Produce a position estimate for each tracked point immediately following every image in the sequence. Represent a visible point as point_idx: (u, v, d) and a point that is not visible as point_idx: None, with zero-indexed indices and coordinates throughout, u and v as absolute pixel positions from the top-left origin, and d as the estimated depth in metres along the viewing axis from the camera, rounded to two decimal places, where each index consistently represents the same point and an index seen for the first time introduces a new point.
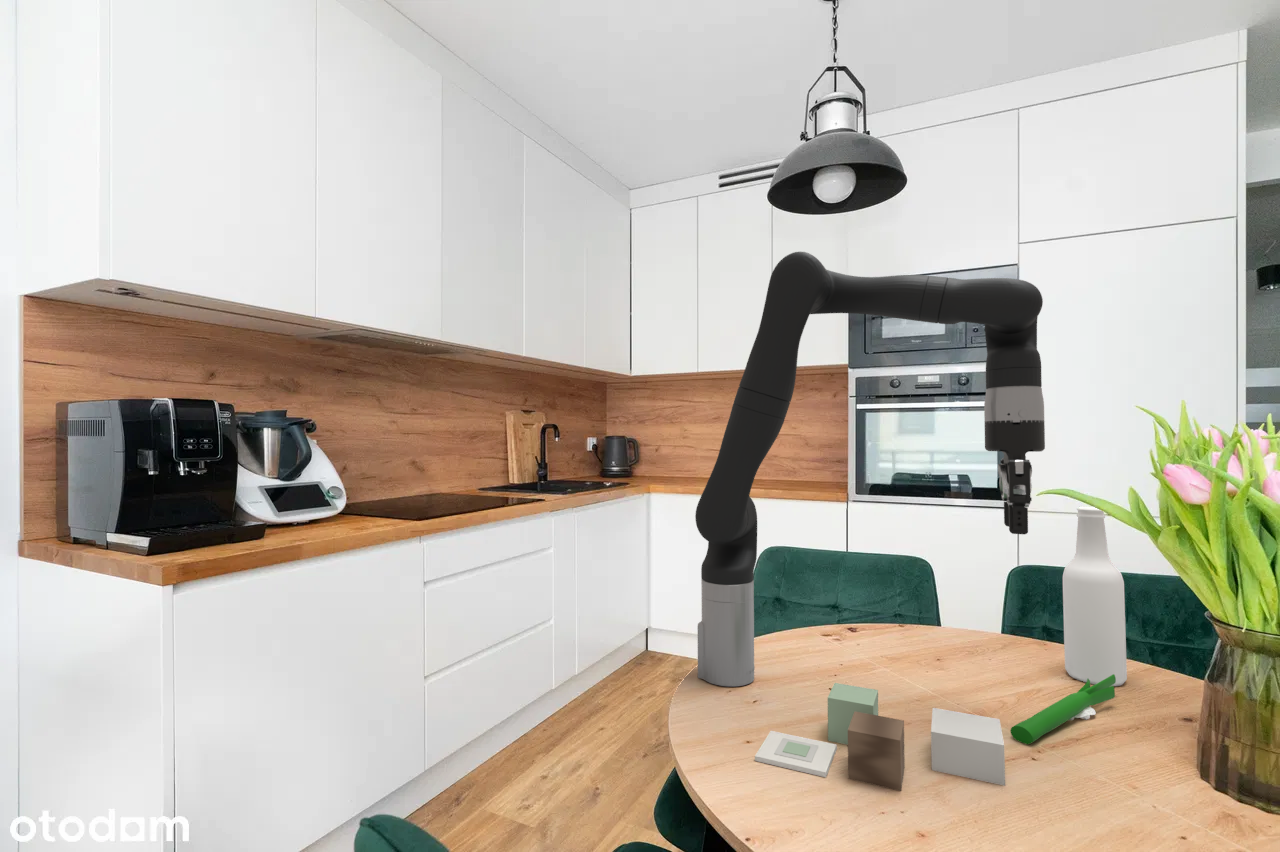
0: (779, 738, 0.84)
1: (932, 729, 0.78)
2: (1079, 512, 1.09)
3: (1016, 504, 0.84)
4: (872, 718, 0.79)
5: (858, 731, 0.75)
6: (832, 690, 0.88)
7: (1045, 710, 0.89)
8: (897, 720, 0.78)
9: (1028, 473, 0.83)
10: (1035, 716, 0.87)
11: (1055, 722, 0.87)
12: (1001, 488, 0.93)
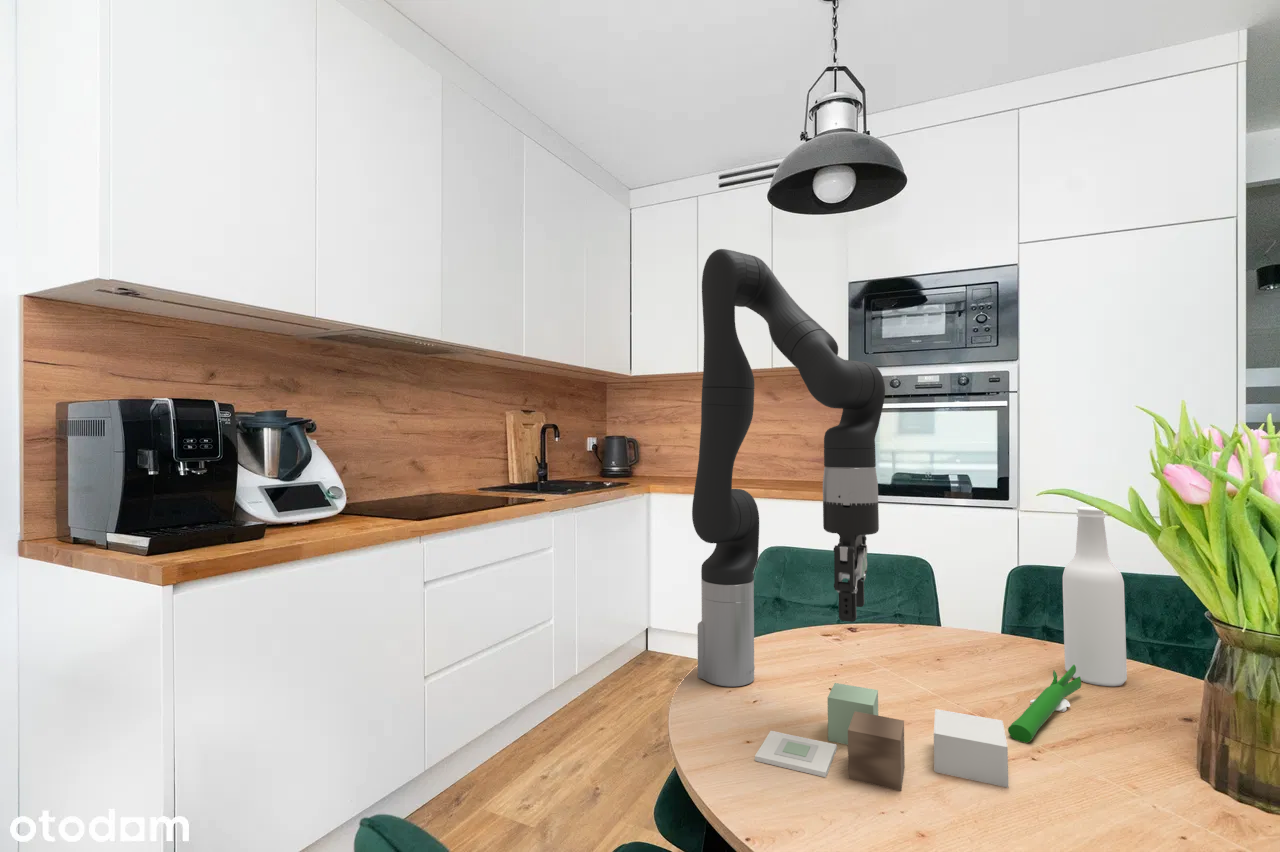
0: (779, 738, 0.84)
1: (935, 731, 0.78)
2: (1079, 512, 1.09)
3: (843, 591, 0.82)
4: (872, 718, 0.79)
5: (858, 731, 0.75)
6: (832, 690, 0.88)
7: (1033, 706, 0.90)
8: (897, 720, 0.78)
9: (851, 561, 0.81)
10: (1027, 713, 0.88)
11: (1044, 718, 0.88)
12: None
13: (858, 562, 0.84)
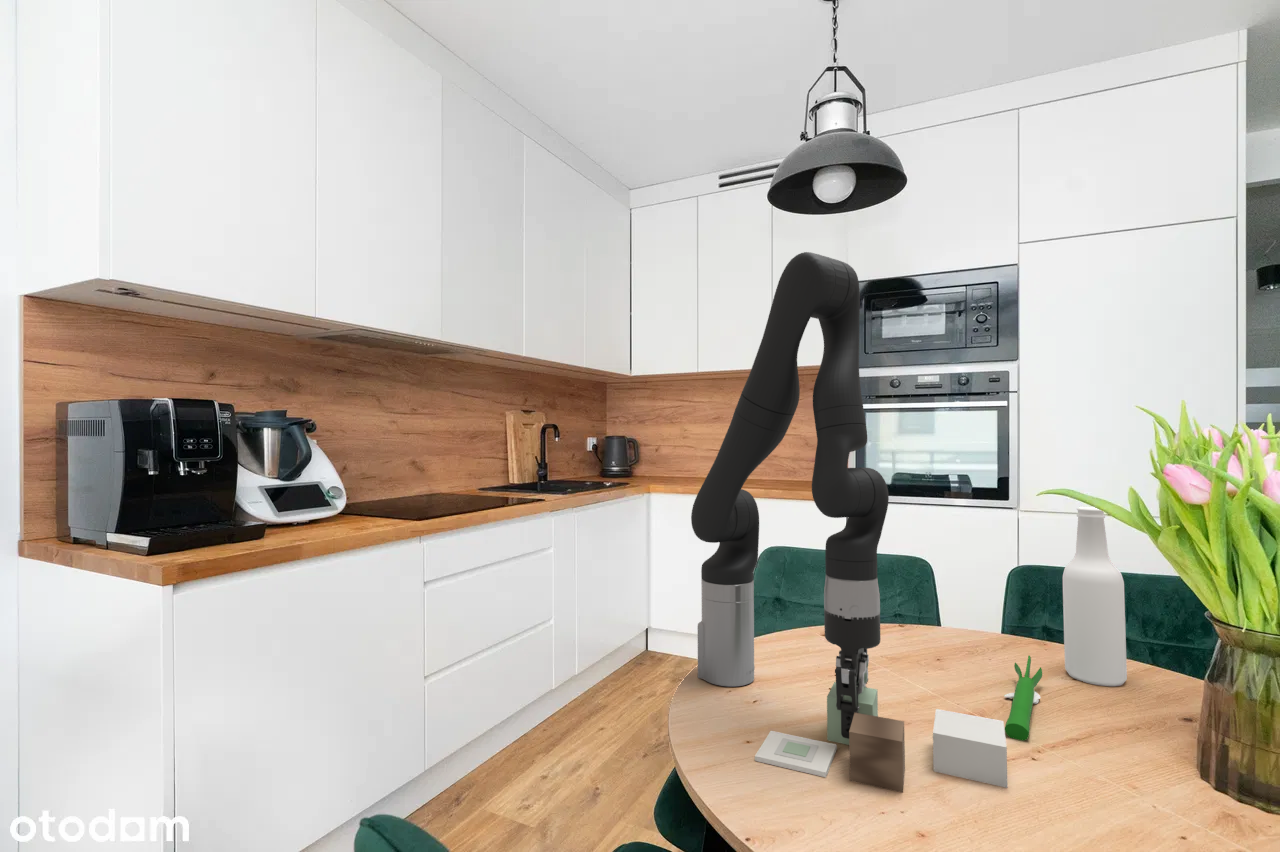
0: (779, 738, 0.84)
1: (934, 730, 0.78)
2: (1079, 512, 1.09)
3: (845, 710, 0.82)
4: (873, 719, 0.78)
5: (859, 733, 0.75)
6: (831, 690, 0.88)
7: (1018, 702, 0.91)
8: (897, 721, 0.78)
9: (853, 685, 0.80)
10: (1016, 710, 0.89)
11: (1030, 713, 0.90)
12: None
13: (860, 678, 0.84)
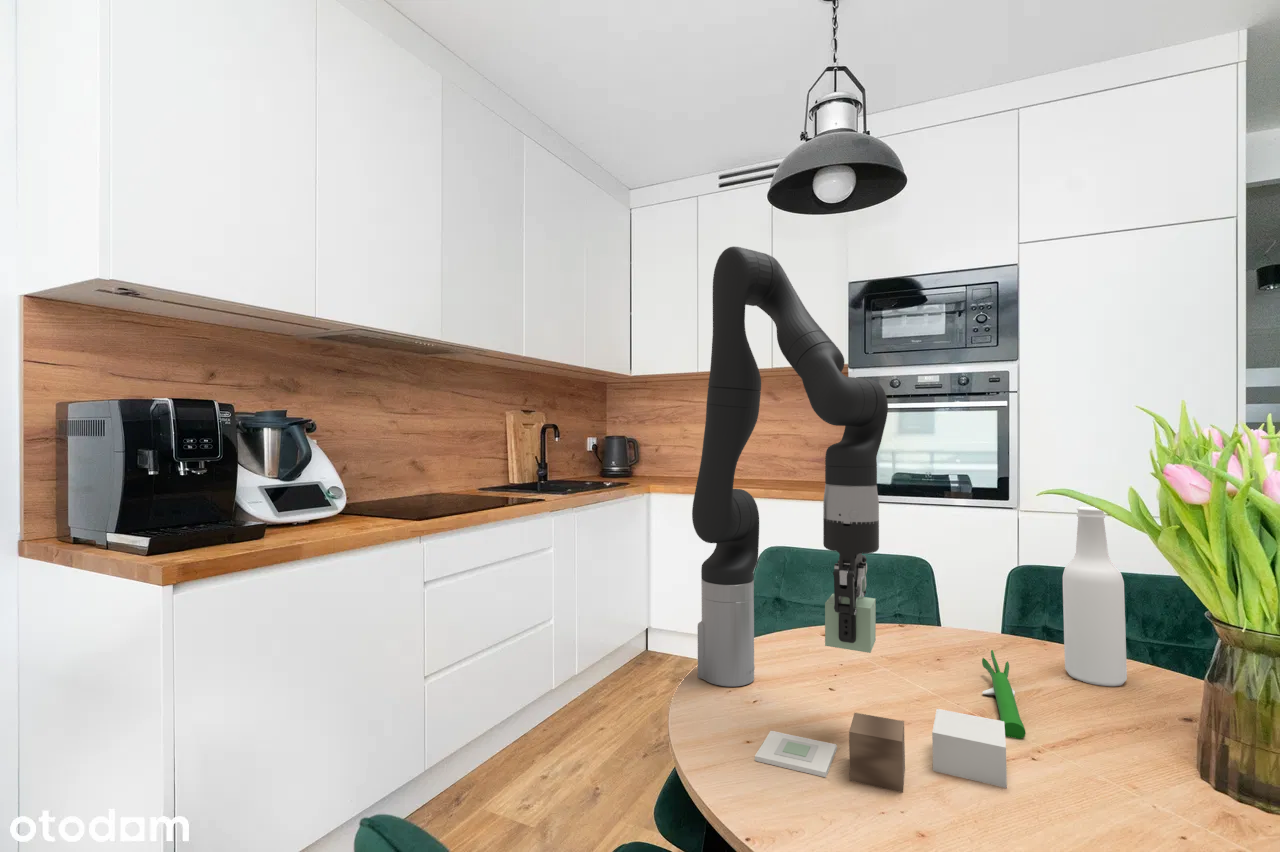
0: (779, 738, 0.84)
1: (934, 730, 0.78)
2: (1079, 512, 1.09)
3: (843, 613, 0.83)
4: (872, 719, 0.78)
5: (859, 733, 0.75)
6: (829, 598, 0.88)
7: (1005, 699, 0.92)
8: (897, 721, 0.78)
9: (851, 586, 0.81)
10: (1007, 708, 0.90)
11: (1017, 709, 0.91)
12: None
13: (858, 583, 0.84)
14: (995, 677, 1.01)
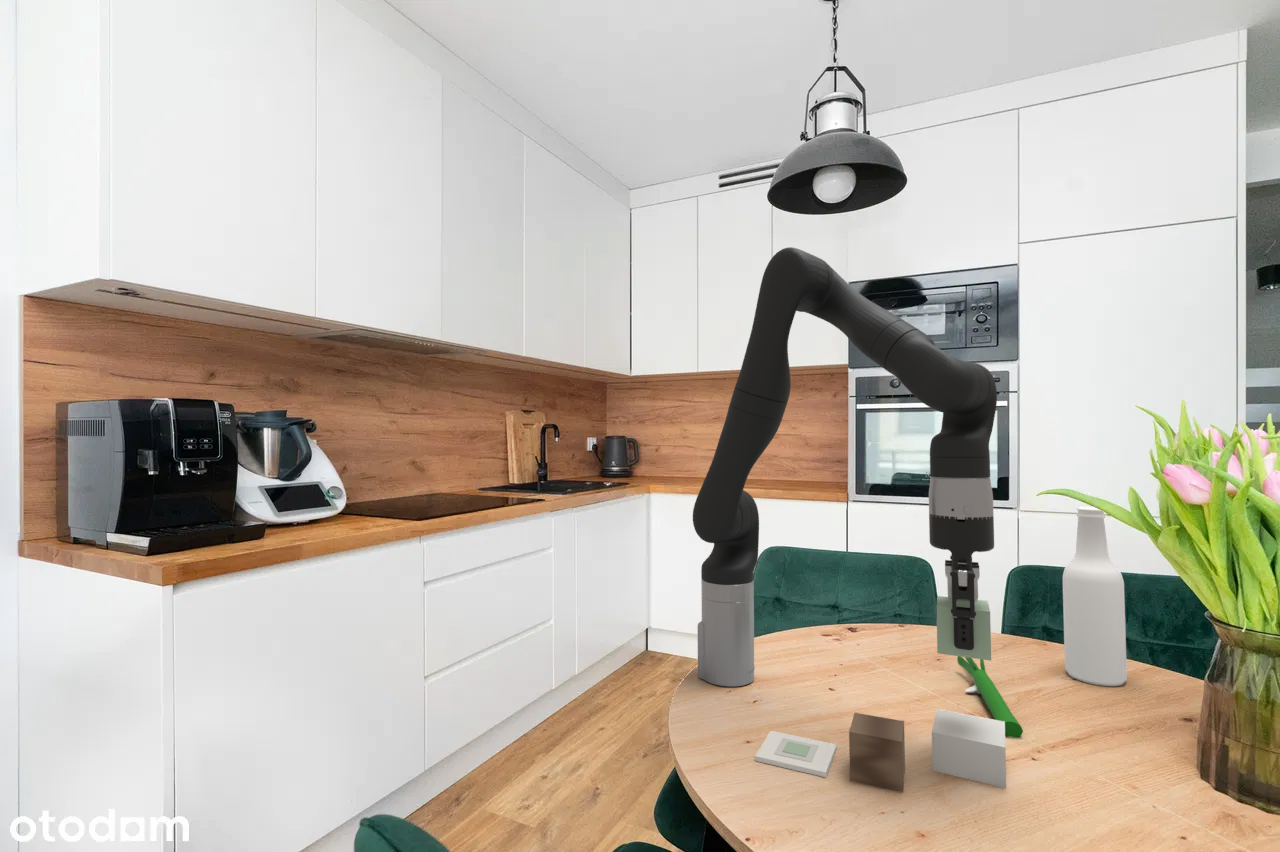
0: (779, 738, 0.84)
1: (933, 729, 0.78)
2: (1079, 512, 1.09)
3: (960, 617, 0.76)
4: (873, 719, 0.78)
5: (859, 733, 0.75)
6: (938, 601, 0.81)
7: (995, 697, 0.93)
8: (897, 721, 0.78)
9: (972, 587, 0.74)
10: (999, 706, 0.90)
11: None
12: None
13: (974, 584, 0.77)
14: (977, 675, 1.02)
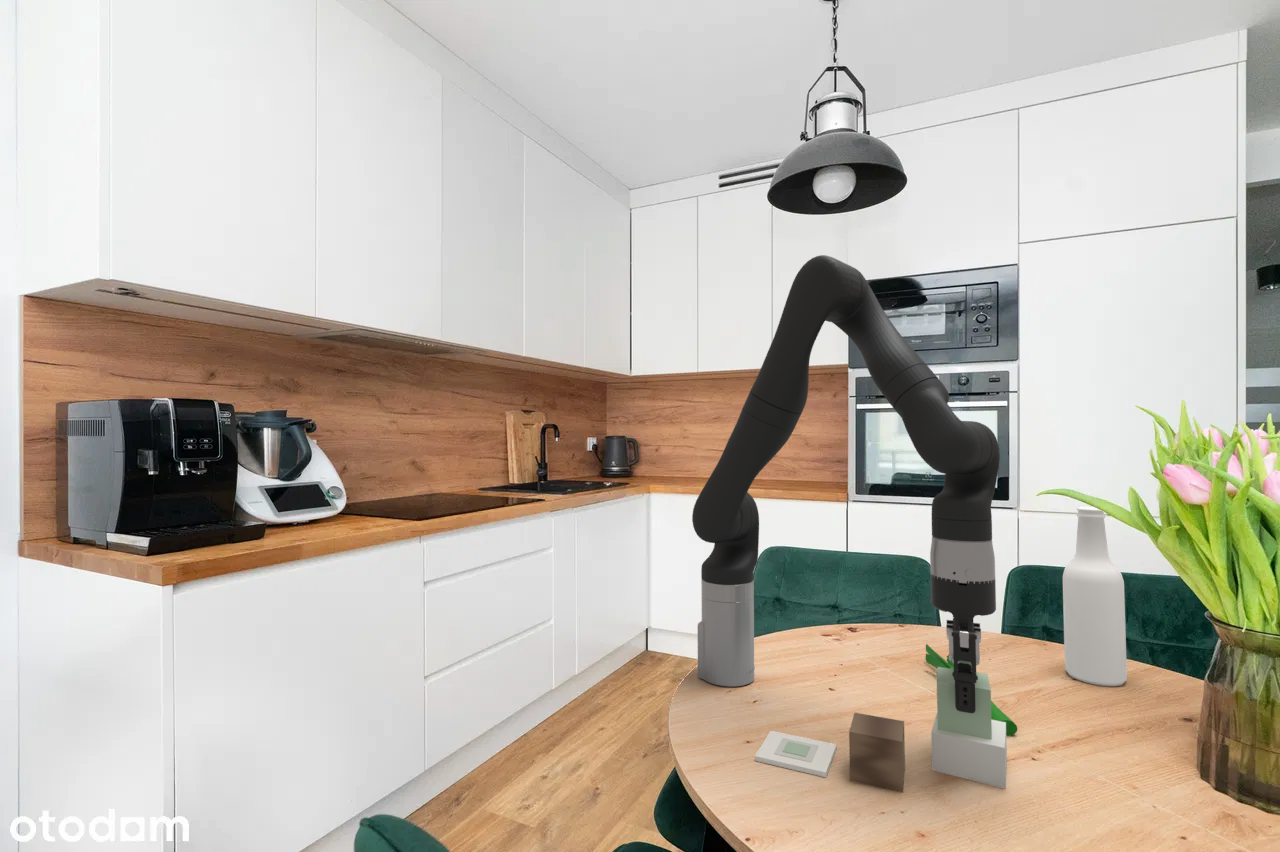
0: (779, 738, 0.84)
1: (933, 730, 0.78)
2: (1079, 512, 1.09)
3: (962, 681, 0.74)
4: (873, 719, 0.78)
5: (859, 733, 0.75)
6: (938, 675, 0.81)
7: None
8: (897, 721, 0.78)
9: (974, 649, 0.73)
10: None
11: None
12: None
13: (976, 646, 0.76)
14: None
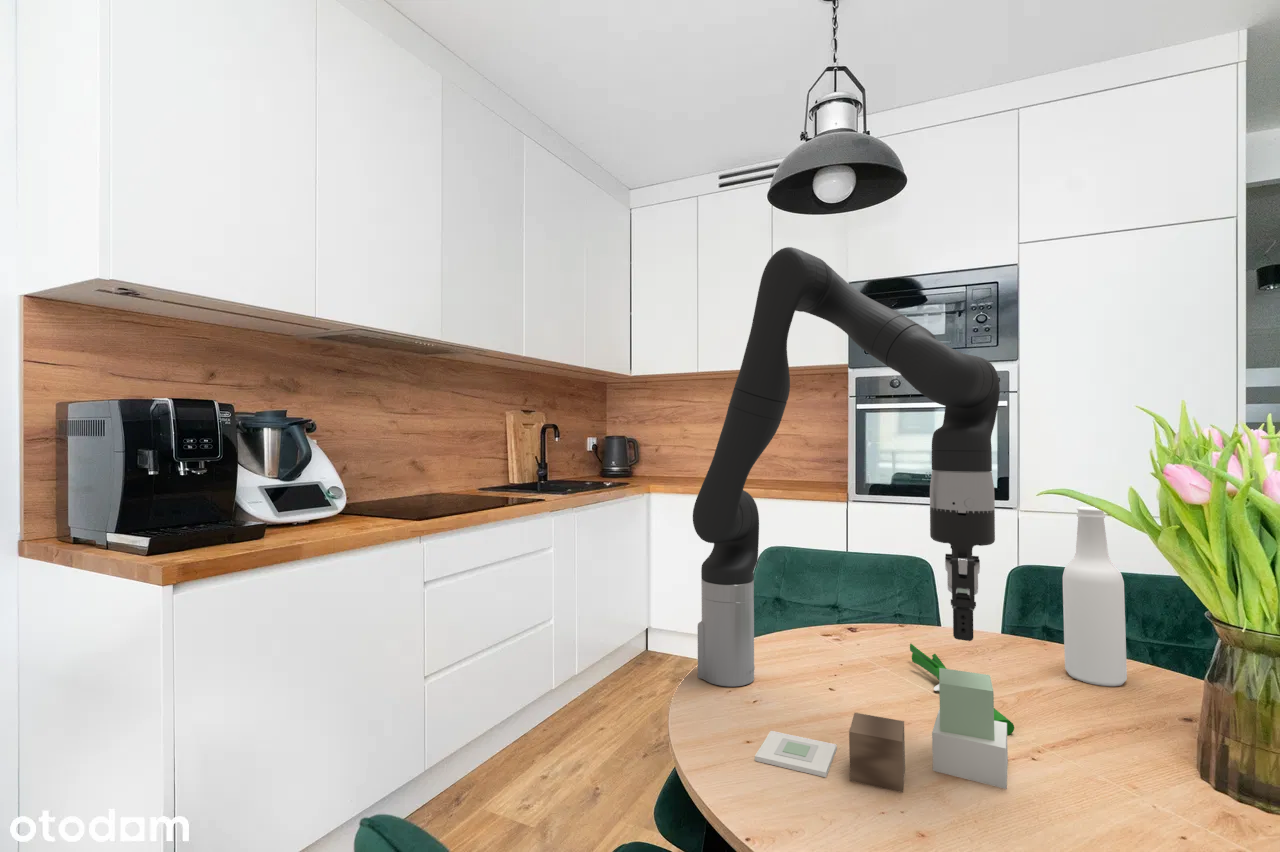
0: (779, 738, 0.84)
1: (934, 730, 0.78)
2: (1079, 512, 1.09)
3: (960, 608, 0.75)
4: (873, 719, 0.78)
5: (859, 733, 0.75)
6: (940, 676, 0.80)
7: None
8: (897, 721, 0.78)
9: (972, 575, 0.73)
10: None
11: None
12: None
13: (974, 575, 0.77)
14: None
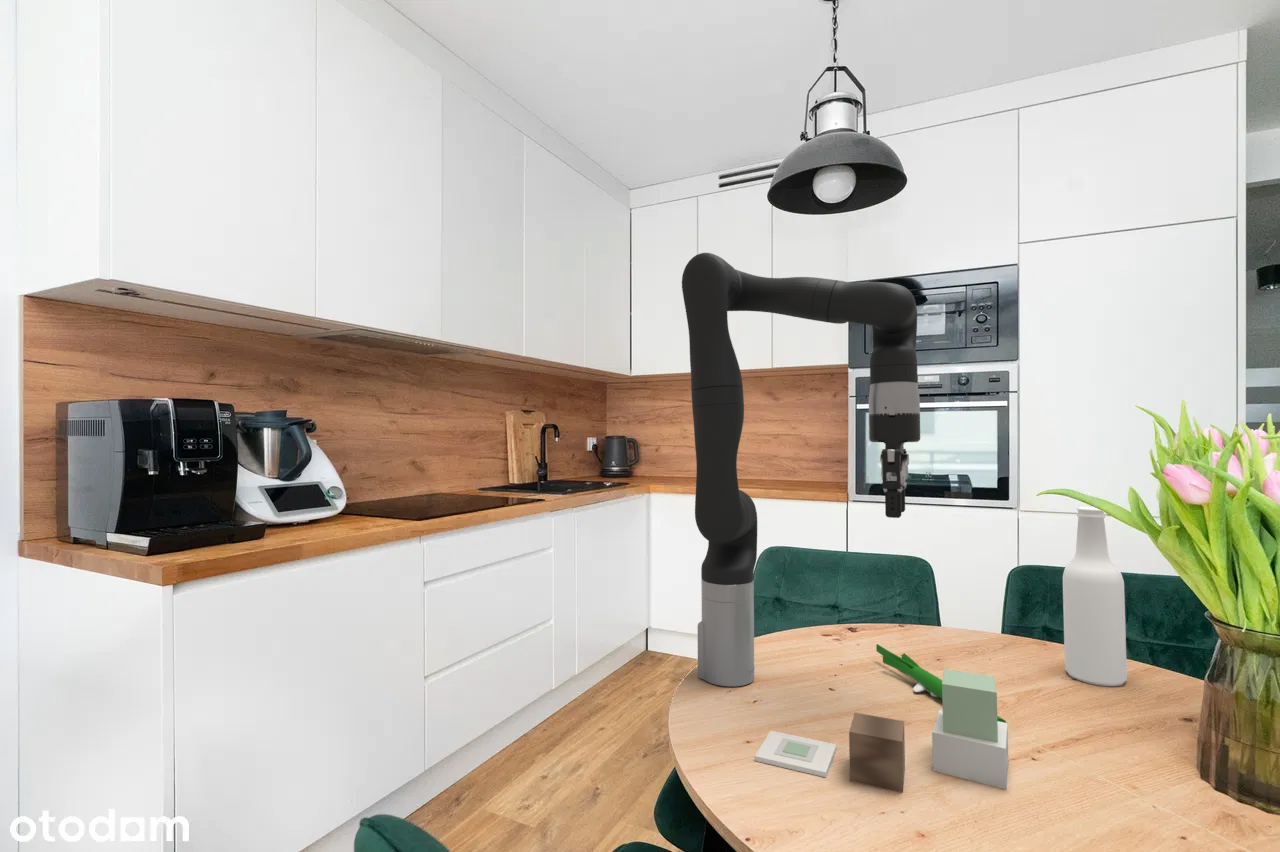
0: (779, 738, 0.84)
1: (934, 730, 0.78)
2: (1079, 512, 1.09)
3: (890, 490, 0.92)
4: (873, 719, 0.78)
5: (859, 733, 0.75)
6: (944, 677, 0.80)
7: None
8: (897, 721, 0.78)
9: (898, 461, 0.90)
10: None
11: None
12: None
13: (902, 466, 0.94)
14: (920, 673, 1.03)
